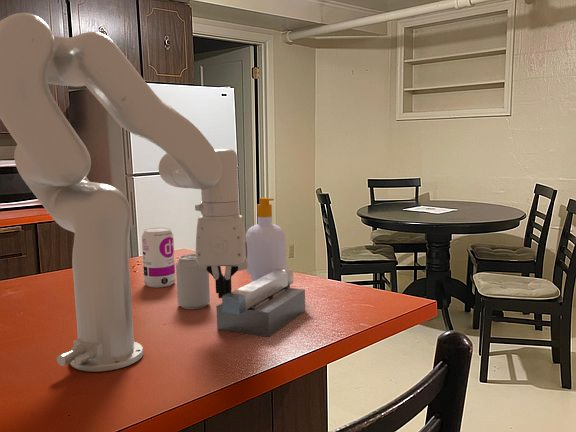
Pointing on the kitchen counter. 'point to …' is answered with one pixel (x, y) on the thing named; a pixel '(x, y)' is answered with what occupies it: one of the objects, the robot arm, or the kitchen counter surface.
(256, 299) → the bar
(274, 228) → the soap bottle
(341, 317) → the kitchen counter surface
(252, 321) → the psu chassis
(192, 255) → the can
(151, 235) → the supplement can
